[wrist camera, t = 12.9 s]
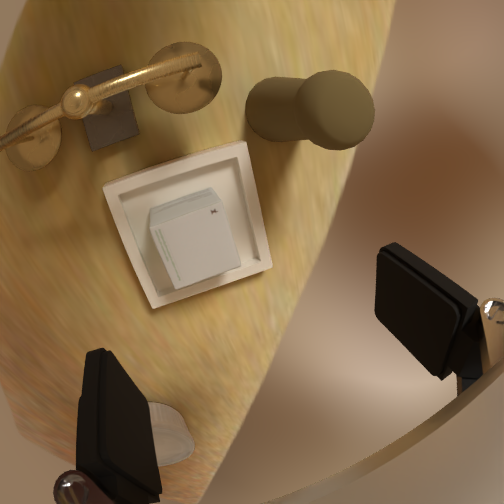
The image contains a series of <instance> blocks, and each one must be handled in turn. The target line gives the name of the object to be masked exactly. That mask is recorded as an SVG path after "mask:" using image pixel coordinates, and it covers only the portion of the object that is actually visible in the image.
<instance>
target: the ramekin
mask: <svg viewBox="0 0 504 504" xmlns="http://www.w3.org/2000/svg"><path fill="white" fill-rule="evenodd" d="M148 404H149V408H150V417H151V424H152V432H153V439H154V445H155V452H156V458H157V464H158V466H166V465H171V464H175V463H178V462H181V461H183V460H185V459H186V458H188V457H189V456H190V455H191V454H192V453H193V451H194V449H195V443H194V439H193V437H192V435H191V434H190V433H189V430H188V428H187V426H186V423H185V421H184V419H183V417H182V415H181V414H180V413H179V412H178V411H176V410H175V409H174V408H172V407H170V406H168V405H165V404H161V403H156V402H148Z"/></svg>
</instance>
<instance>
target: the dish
mask: <svg viewBox="0 0 504 504" xmlns="http://www.w3.org/2000/svg"><path fill="white" fill-rule="evenodd" d="M209 187H212V188H213V190H214V191H215V192H216V194H217V195H218V196H219V197H220V199H221V200H222V202H223V205H224V208H225V211H226V214H227V217H228V221H229V224H230V228H231V231H232V234H233V238H234V241H235V244H236V247H237V250H238V253H239V257H240V261H241V267H238V268H235V269H232V270H230V271H227V272H224V273H221V274H218V275H215V276H212V277H209V278H207V279H204V280H201V281H199V282H196V283H193V284H191V285H188V286H185V287H182V288H179V289H175V288H174V286H173V284H172V282H171V280H170V278H169V276H168V273H167V271H166V269H165V267H164V265H163V262H162V260H161V258H160V255H159V253H158V251H157V248H156V246H155V244H154V241H153V239H152V236H151V233H150V230H149V226H150V208H152V207H155V206H158V205H161V204H164V203H166V202H169V201H172V200H175V199H177V198H180V197H183V196H186V195H189V194H192V193H195V192H198V191H201V190H204V189H206V188H209ZM102 189H103V191H104V194H105V197H106V200H107V203H108V205H109V208H110V211H111V213H112V216H113V219H114V221H115V224H116V226H117V229H118V231H119V234H120V236H121V239H122V241H123V244H124V246H125V249H126V251H127V253H128V256H129V258H130V260H131V263H132V265H133V267H134V270H135V272H136V274H137V276H138V279H139V281H140V283H141V285H142V287H143V290H144V292H145V294H146V296H147V298H148V300H149V302H150V305H151V307H152V309H154V308H157V307H160V306H163V305H166V304H169V303H172V302H175V301H178V300H181V299H184V298H187V297H190V296H193V295H196V294H198V293H201V292H204V291H207V290H210V289H213V288H216V287H219V286H221V285H224V284H227V283H230V282H233V281H236V280H239V279H241V278H244V277H247V276H250V275H253V274H256V273H258V272H261V271H264V270H267V269H269V268H272V267H273V265H272V260H271V256H270V251H269V246H268V241H267V236H266V231H265V227H264V222H263V217H262V212H261V207H260V203H259V198H258V193H257V189H256V184H255V179H254V175H253V170H252V165H251V161H250V156H249V152H248V147H247V143H246V142H245V141H241V140H239V141H236V142H232V143H228V144H224V145H220V146H217V147H213V148H210V149H206V150H203V151H199V152H196V153H192V154H189V155H186V156H183V157H179V158H176V159H173V160H170V161H167V162H164V163H161V164H158V165H155V166H152V167H149V168H146V169H143V170H140V171H137V172H134V173H132V174H129V175H126V176H123V177H121V178H118V179H115V180H113V181H110V182H107V183H105V185H104V186H103V188H102Z"/></svg>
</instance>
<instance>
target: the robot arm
mask: <svg viewBox="0 0 504 504" xmlns="http://www.w3.org/2000/svg"><path fill="white" fill-rule="evenodd" d="M477 303H478V299H476V298H475V297H474V296H472V295H471V294H470V293H468V292H467V291H466V290H464V289H463V288H461V287H460V286H459V285H458V284H456V283H455V282H453V281H452V280H450V279H449V278H448V277H446V276H445V275H444V274H442V273H441V272H439V271H438V270H437V269H435V268H434V267H432V266H431V265H429V264H428V263H426V262H425V261H423V260H422V259H420V258H419V257H417V256H416V255H414V254H413V253H412V252H410V251H408V250H407V249H405V248H404V247H402V246H401V245H399V244H398V243H396V242H394V243H391V244H389V245H386V246H384V247H382V248H381V249H380V251H379V253H378V255H377V270H376V295H375V315H376V317H377V318H378V320H379V321H380V322H381V323H382V324H383V325H384V326H385V327H386V328H387V329H388V330H389V331H390V332H391V333H392V334H393V335H394V336H395V337H396V338H397V339H398V340H399V341H400V342H401V343H402V344H403V345H404V346H405V347H406V348H407V349H408V350H409V352H411V354H412V355H413V356H414V357H415V358H416V359H417V360H418V361H419V362H420V363H421V364H422V365H423V366H424V367H425V368H426V369H427V370H428V371H429V372H430V373H431V374H432V375H433V376H437V377H438V378H439V379H440V380H441V381H442V380H443V379H444V378H446V377H447V376H448V375H450V374H451V373H452V371H453V372H454V373H455V374H456V377H457V397H456V398H455V399H454V400H453V401H451V402H450V403H449V404H447V405H446V406H445V407H444V408H442V409H441V410H440V411H438V412H437V413H436V414H434V415H433V416H432V417H430V418H429V419H427V420H426V421H424V422H423V423H422V424H420V425H419V426H417V427H416V428H414V429H413V430H411V431H410V432H408V433H407V434H405V435H404V436H402V437H401V438H399V439H397V440H396V441H394V442H393V443H391V444H389V445H388V446H386V447H384V448H383V449H381V450H379V451H378V452H376V453H374V454H372V455H371V456H369V457H367V458H365V459H363V460H362V461H360V462H358V463H356V464H354V465H352V466H350V467H349V468H346V469H344V470H342V471H341V472H338V473H336V474H334V475H332V476H330V477H328V478H325V479H323V480H321V481H319V482H317V483H314V484H312V485H310V486H307V487H305V488H303V489H300V490H297V491H295V492H292V493H290V494H287V495H285V496H282V497H279V498H276V499H274V500H271V501H268V502H265V503H262V504H504V300H502V299H500V298H489V299H486V300H485V301H483V303H482V304H481V306H480V307H479V306H478V305H477ZM159 494H162V485H161V480H160V475H159V469H158V464H157V458H156V452H155V445H154V439H153V432H152V424H151V417H150V408H149V404H148V402H147V400H146V398H145V397H144V395H143V394H142V393H141V391H140V390H139V389H138V388H137V386H136V385H135V384H134V382H133V381H132V380H131V378H130V377H129V375H128V374H127V373H126V371H125V370H124V369H123V367H122V366H121V364H120V363H119V361H118V360H117V359H116V357H115V356H114V354H113V353H112V352H111V351H106V350H105V349H104V348H100V349H96V350H93V351H89V352H87V354H86V359H85V367H84V376H83V385H82V395H81V397H80V398H79V404H78V418H77V438H76V470H69V471H66V472H64V473H63V474H61V475H60V476H59V477H58V479H57V480H56V482H55V485H54V490H53V495H54V500H55V502H56V504H150V503H156V502H160V498H159Z"/></svg>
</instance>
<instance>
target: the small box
mask: <svg viewBox="0 0 504 504" xmlns="http://www.w3.org/2000/svg"><path fill="white" fill-rule="evenodd" d="M149 230H150V233H151V236H152V239H153V241H154V244H155V246H156V248H157V251H158V253H159V255H160V258H161V260H162V262H163V265H164V267H165V269H166V271H167V273H168V276H169V278H170V280H171V282H172V284H173V286H174V288H175V289H179V288H182V287H185V286H188V285H191V284H193V283H196V282H199V281H201V280H204V279H207V278H209V277H212V276H215V275H218V274H221V273H224V272H227V271H230V270H232V269H235V268H238V267H241V261H240V257H239V253H238V250H237V247H236V244H235V241H234V238H233V234H232V231H231V228H230V224H229V221H228V217H227V214H226V211H225V208H224V205H223V202H222V200H221V199H220V197H219V196H218V195H217V194H216V192H215V191H214V190H213V188H212V187H209V188H206V189H204V190H201V191H198V192H195V193H192V194H189V195H186V196H183V197H180V198H177V199H175V200H172V201H169V202H166V203H164V204H161V205H158V206H155V207H152V208H150V226H149Z"/></svg>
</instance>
